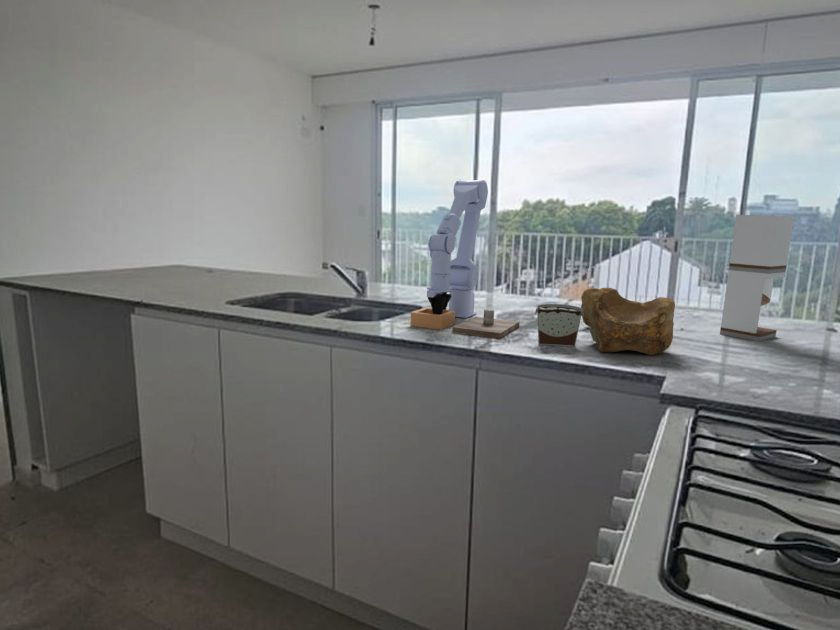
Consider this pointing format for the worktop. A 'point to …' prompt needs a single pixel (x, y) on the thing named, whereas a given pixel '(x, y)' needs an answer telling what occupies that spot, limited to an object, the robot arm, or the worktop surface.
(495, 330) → the post base
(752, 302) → the white stacked pedestal
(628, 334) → the rough brown rock
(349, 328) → the worktop surface
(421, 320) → the shallow wooden tray
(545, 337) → the food container
